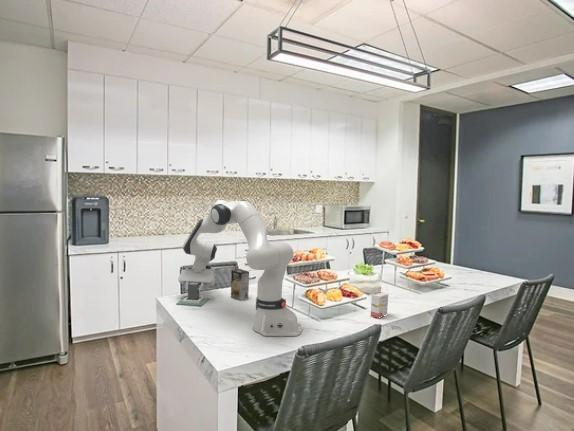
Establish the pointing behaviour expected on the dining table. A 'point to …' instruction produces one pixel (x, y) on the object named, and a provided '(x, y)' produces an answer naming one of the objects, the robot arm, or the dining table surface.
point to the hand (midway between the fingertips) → (193, 290)
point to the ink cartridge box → (379, 303)
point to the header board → (193, 301)
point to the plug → (193, 290)
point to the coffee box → (239, 284)
